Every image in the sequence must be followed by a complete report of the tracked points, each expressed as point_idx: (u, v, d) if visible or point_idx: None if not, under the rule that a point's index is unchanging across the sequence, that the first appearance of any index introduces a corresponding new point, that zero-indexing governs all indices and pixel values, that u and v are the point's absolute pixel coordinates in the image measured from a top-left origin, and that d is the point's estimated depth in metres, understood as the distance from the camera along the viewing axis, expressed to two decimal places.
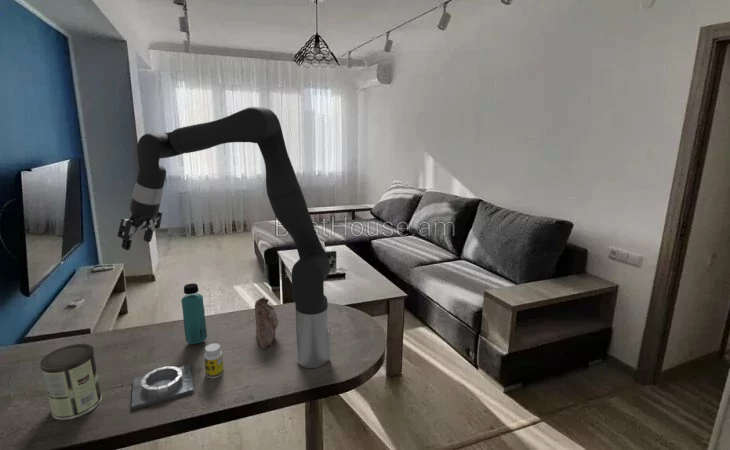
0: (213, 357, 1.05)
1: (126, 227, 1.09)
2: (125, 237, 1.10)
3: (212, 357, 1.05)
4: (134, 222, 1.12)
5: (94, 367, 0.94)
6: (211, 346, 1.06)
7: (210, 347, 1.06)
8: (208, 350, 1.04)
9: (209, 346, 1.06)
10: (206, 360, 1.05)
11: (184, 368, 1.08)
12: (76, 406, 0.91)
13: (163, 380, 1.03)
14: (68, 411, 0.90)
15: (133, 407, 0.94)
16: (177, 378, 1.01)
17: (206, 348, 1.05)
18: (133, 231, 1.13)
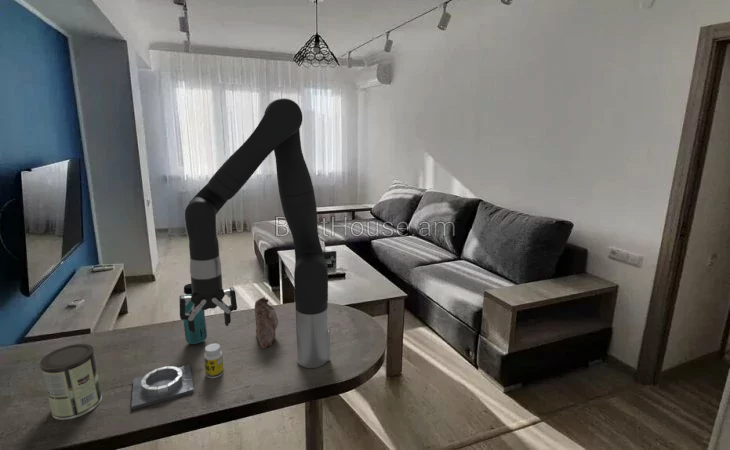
0: (213, 357, 1.05)
1: (180, 305, 0.98)
2: (181, 317, 0.99)
3: (212, 357, 1.05)
4: (191, 300, 1.00)
5: (94, 367, 0.94)
6: (211, 346, 1.06)
7: (210, 347, 1.06)
8: (208, 351, 1.04)
9: (209, 346, 1.06)
10: (206, 360, 1.05)
11: (184, 368, 1.08)
12: (76, 406, 0.91)
13: (163, 380, 1.03)
14: (68, 411, 0.90)
15: (133, 407, 0.94)
16: (177, 378, 1.01)
17: (206, 348, 1.05)
18: (193, 310, 1.00)
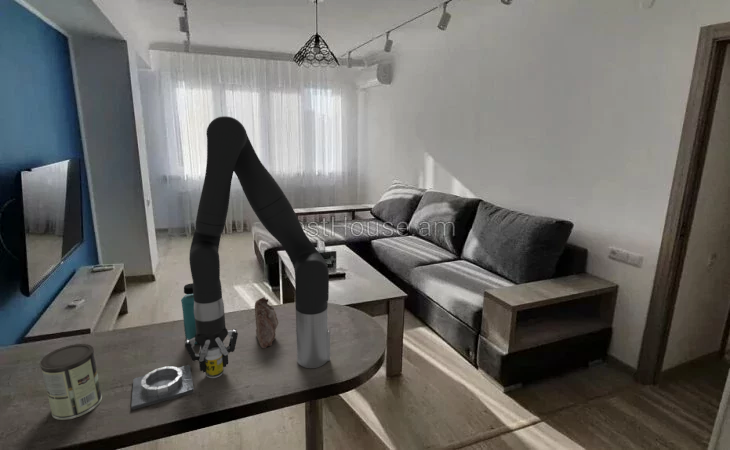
0: (213, 357, 1.05)
1: (187, 349, 1.02)
2: (192, 358, 1.03)
3: (212, 357, 1.05)
4: (196, 341, 1.03)
5: (94, 367, 0.94)
6: None
7: None
8: (208, 350, 1.04)
9: None
10: (206, 360, 1.05)
11: (184, 368, 1.08)
12: (76, 406, 0.91)
13: (163, 380, 1.03)
14: (68, 411, 0.90)
15: (133, 407, 0.94)
16: (177, 378, 1.01)
17: None
18: (201, 352, 1.04)
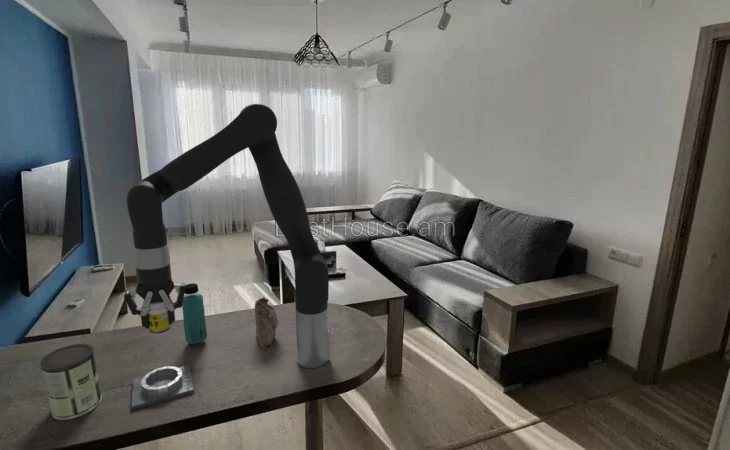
0: (156, 311, 0.95)
1: (126, 301, 0.93)
2: (132, 312, 0.94)
3: (156, 311, 0.95)
4: (137, 293, 0.93)
5: (94, 367, 0.94)
6: None
7: None
8: (151, 304, 0.95)
9: None
10: (149, 315, 0.95)
11: (184, 368, 1.08)
12: (76, 406, 0.91)
13: (163, 380, 1.03)
14: (68, 411, 0.90)
15: (133, 407, 0.94)
16: (177, 378, 1.01)
17: None
18: (143, 305, 0.94)
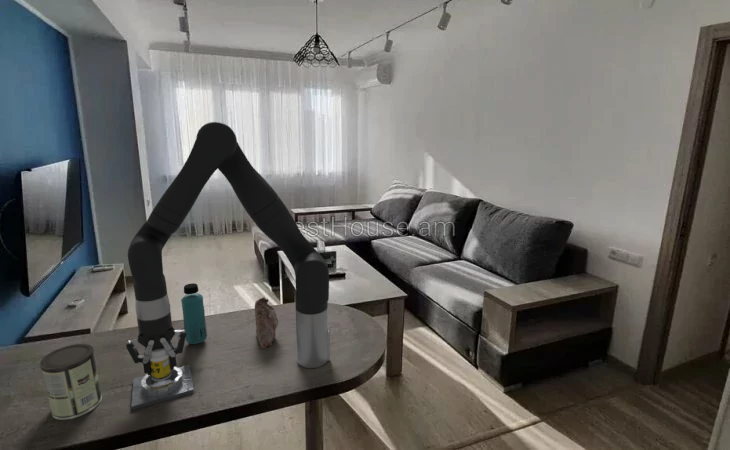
0: (158, 359, 0.98)
1: (128, 350, 0.95)
2: (134, 360, 0.96)
3: (157, 358, 0.98)
4: (139, 342, 0.96)
5: (94, 367, 0.94)
6: None
7: None
8: (152, 352, 0.97)
9: None
10: (150, 362, 0.98)
11: (184, 368, 1.08)
12: (76, 406, 0.91)
13: (163, 380, 1.03)
14: (68, 411, 0.90)
15: (133, 407, 0.94)
16: (177, 378, 1.01)
17: None
18: (144, 353, 0.97)
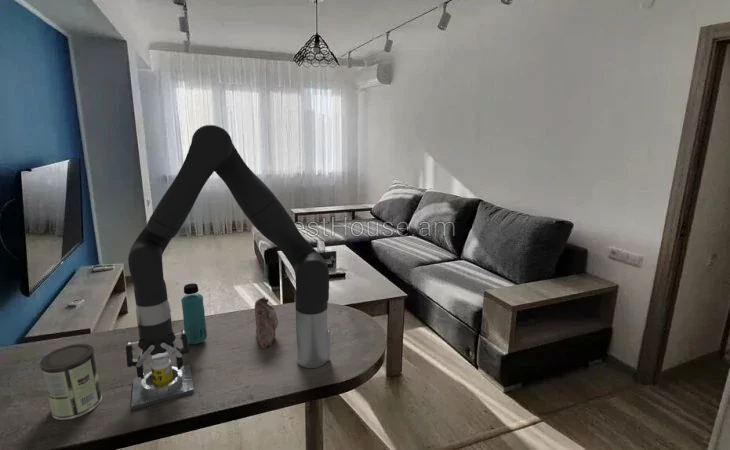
0: (160, 366, 0.99)
1: (126, 352, 0.95)
2: (128, 364, 0.96)
3: (159, 366, 0.99)
4: (139, 346, 0.96)
5: (94, 367, 0.94)
6: (158, 355, 1.00)
7: (157, 356, 1.00)
8: (154, 360, 0.98)
9: (156, 355, 1.00)
10: (152, 370, 0.99)
11: (184, 368, 1.08)
12: (76, 406, 0.91)
13: None
14: (68, 411, 0.90)
15: (133, 407, 0.94)
16: (177, 378, 1.01)
17: (153, 357, 0.99)
18: (141, 357, 0.97)
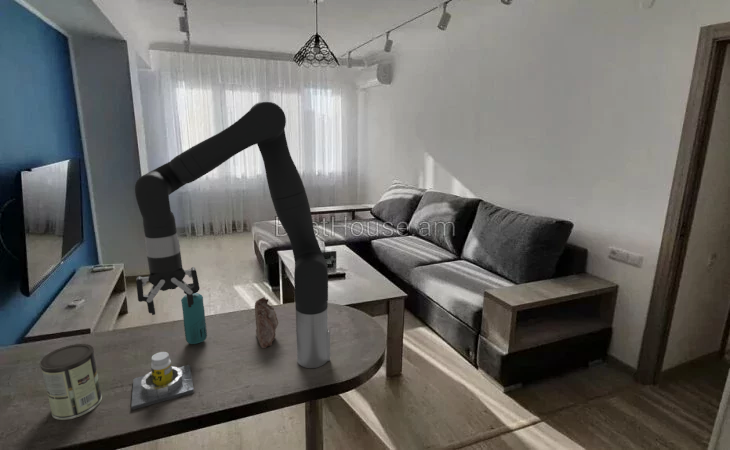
0: (160, 366, 0.99)
1: None
2: (139, 298, 0.95)
3: (159, 366, 0.99)
4: (149, 280, 0.96)
5: (94, 367, 0.94)
6: (158, 355, 1.00)
7: (157, 356, 1.00)
8: (154, 360, 0.98)
9: (156, 355, 1.00)
10: (152, 370, 0.99)
11: (184, 368, 1.08)
12: (76, 406, 0.91)
13: None
14: (68, 411, 0.90)
15: (133, 407, 0.94)
16: (177, 378, 1.01)
17: (153, 357, 0.99)
18: (151, 291, 0.96)
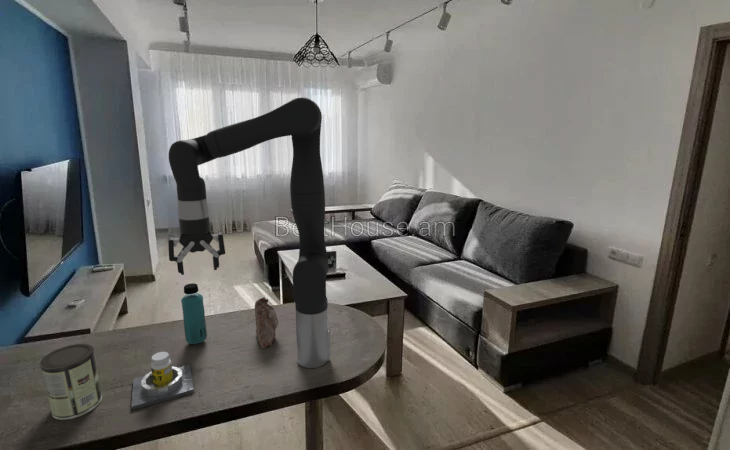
0: (160, 366, 0.99)
1: (168, 246, 1.01)
2: (170, 258, 1.02)
3: (159, 366, 0.99)
4: (180, 242, 1.02)
5: (94, 367, 0.94)
6: (158, 354, 1.00)
7: (157, 356, 1.00)
8: (154, 360, 0.98)
9: (156, 355, 1.00)
10: (152, 370, 0.99)
11: (184, 368, 1.08)
12: (76, 406, 0.91)
13: None
14: (68, 411, 0.90)
15: (133, 407, 0.94)
16: (177, 378, 1.01)
17: (153, 357, 0.99)
18: (181, 252, 1.03)
